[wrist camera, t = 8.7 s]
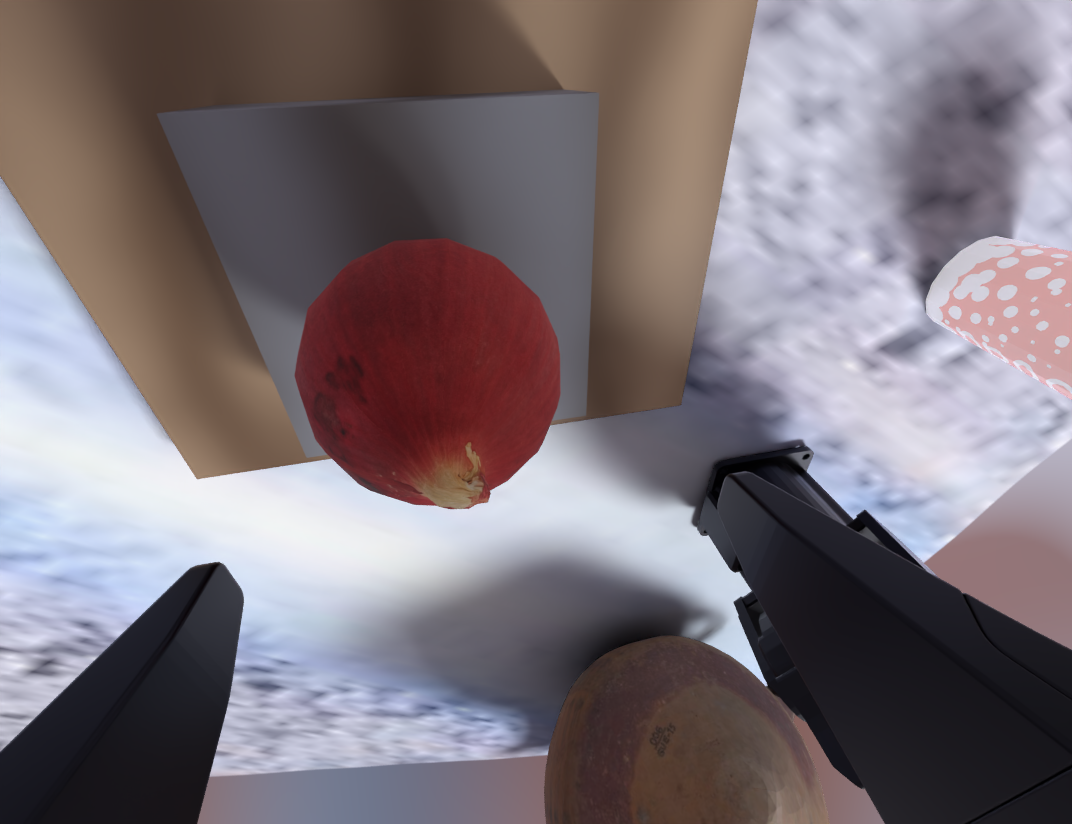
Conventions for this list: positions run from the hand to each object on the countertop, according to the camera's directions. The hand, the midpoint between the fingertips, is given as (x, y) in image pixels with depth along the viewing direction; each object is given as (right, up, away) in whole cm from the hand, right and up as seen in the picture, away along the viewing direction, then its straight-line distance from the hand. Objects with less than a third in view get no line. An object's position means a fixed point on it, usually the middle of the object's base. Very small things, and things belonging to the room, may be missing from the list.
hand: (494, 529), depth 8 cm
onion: (-2, +5, +6) cm, 8 cm away
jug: (+8, -24, +36) cm, 44 cm away
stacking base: (-3, +8, +9) cm, 13 cm away
